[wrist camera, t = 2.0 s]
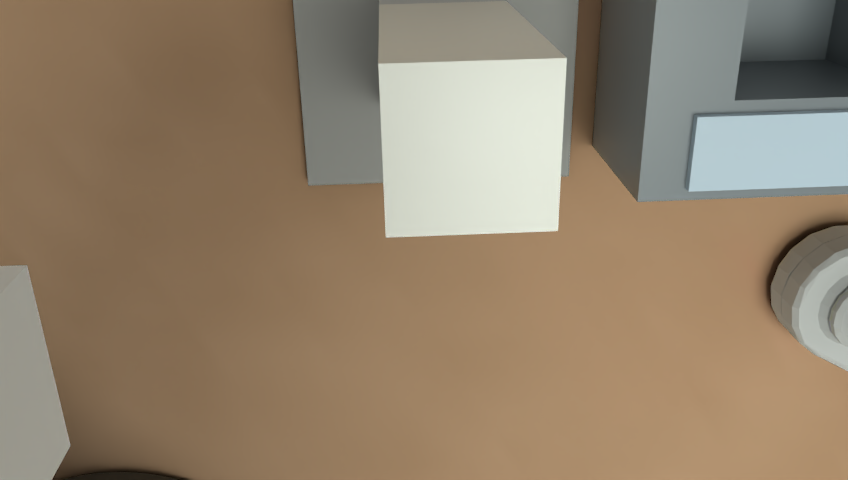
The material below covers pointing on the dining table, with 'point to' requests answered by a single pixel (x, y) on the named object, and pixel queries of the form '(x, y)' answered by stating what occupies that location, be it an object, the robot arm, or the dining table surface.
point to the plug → (468, 119)
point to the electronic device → (816, 294)
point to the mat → (359, 82)
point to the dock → (723, 97)
